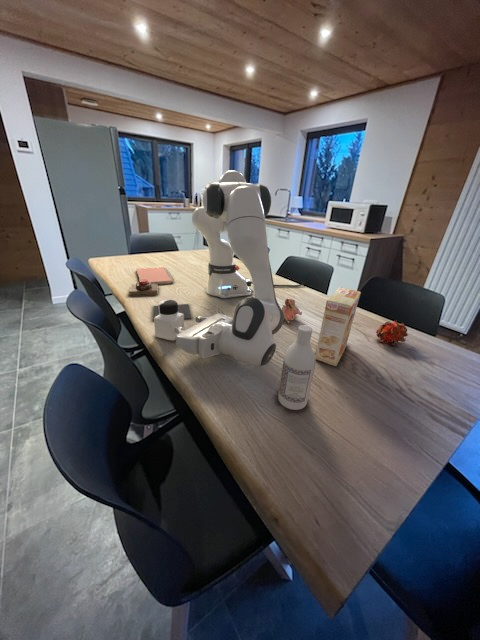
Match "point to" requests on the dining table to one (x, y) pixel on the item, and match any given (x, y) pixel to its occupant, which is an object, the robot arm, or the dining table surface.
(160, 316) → the medicine bottle
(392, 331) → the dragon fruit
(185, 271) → the dining table surface
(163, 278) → the notebook
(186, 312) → the mat
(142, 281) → the button
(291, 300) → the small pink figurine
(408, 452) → the dining table surface
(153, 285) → the button box
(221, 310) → the dining table surface
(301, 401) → the bath foam
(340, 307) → the coffeecake box
